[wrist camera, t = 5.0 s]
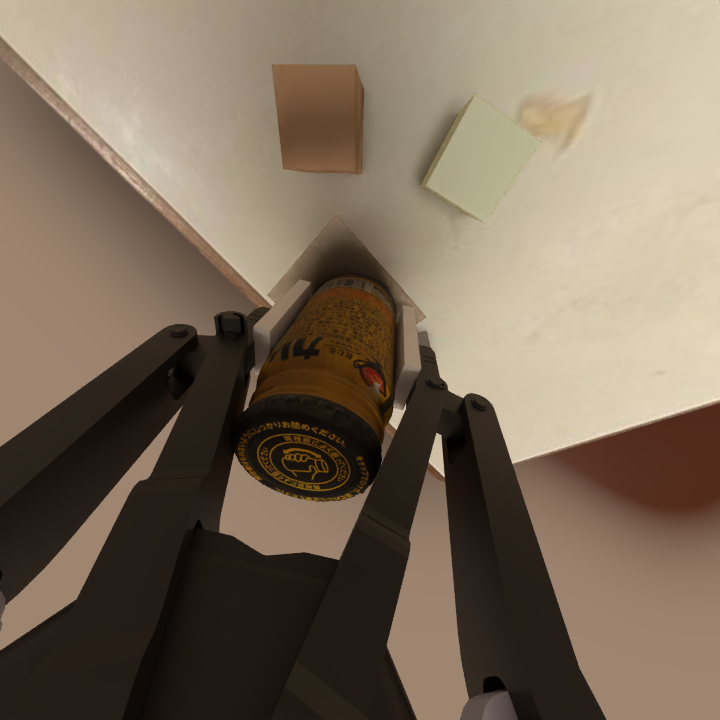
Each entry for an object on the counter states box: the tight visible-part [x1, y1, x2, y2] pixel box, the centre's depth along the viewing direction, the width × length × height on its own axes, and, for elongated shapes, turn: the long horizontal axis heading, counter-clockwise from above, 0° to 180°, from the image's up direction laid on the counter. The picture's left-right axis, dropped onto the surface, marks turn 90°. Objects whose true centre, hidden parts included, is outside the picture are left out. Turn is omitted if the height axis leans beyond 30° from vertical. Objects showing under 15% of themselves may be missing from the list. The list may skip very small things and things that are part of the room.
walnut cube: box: [272, 65, 364, 174], centre depth 19 cm, size 5×5×5 cm
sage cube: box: [420, 94, 541, 223], centre depth 19 cm, size 5×5×5 cm
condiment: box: [232, 215, 426, 502], centre depth 13 cm, size 7×8×12 cm
